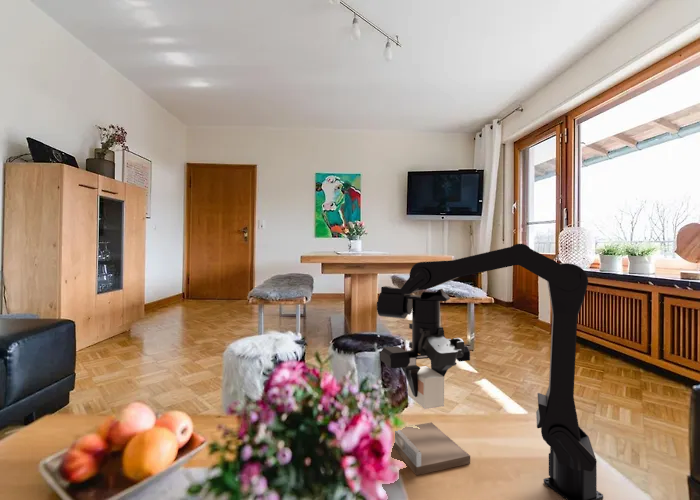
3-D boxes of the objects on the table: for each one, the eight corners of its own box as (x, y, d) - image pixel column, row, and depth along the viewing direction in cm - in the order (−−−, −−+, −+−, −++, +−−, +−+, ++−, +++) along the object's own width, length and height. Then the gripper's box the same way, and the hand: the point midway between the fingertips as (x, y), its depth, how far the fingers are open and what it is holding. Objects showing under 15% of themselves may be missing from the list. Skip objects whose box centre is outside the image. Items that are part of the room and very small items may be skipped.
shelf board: (470, 463, 67) (470, 442, 67) (414, 475, 63) (415, 453, 63) (431, 428, 80) (431, 411, 80) (383, 437, 76) (383, 419, 76)
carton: (426, 392, 76) (426, 365, 76) (444, 406, 69) (444, 376, 69) (407, 395, 74) (407, 367, 74) (424, 409, 68) (424, 378, 68)
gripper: (404, 331, 61) (403, 418, 61) (488, 325, 67) (488, 405, 67) (379, 320, 72) (379, 394, 72) (454, 316, 78) (454, 384, 78)
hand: (425, 394), depth 72 cm, fingers closed on carton, 5 cm apart
